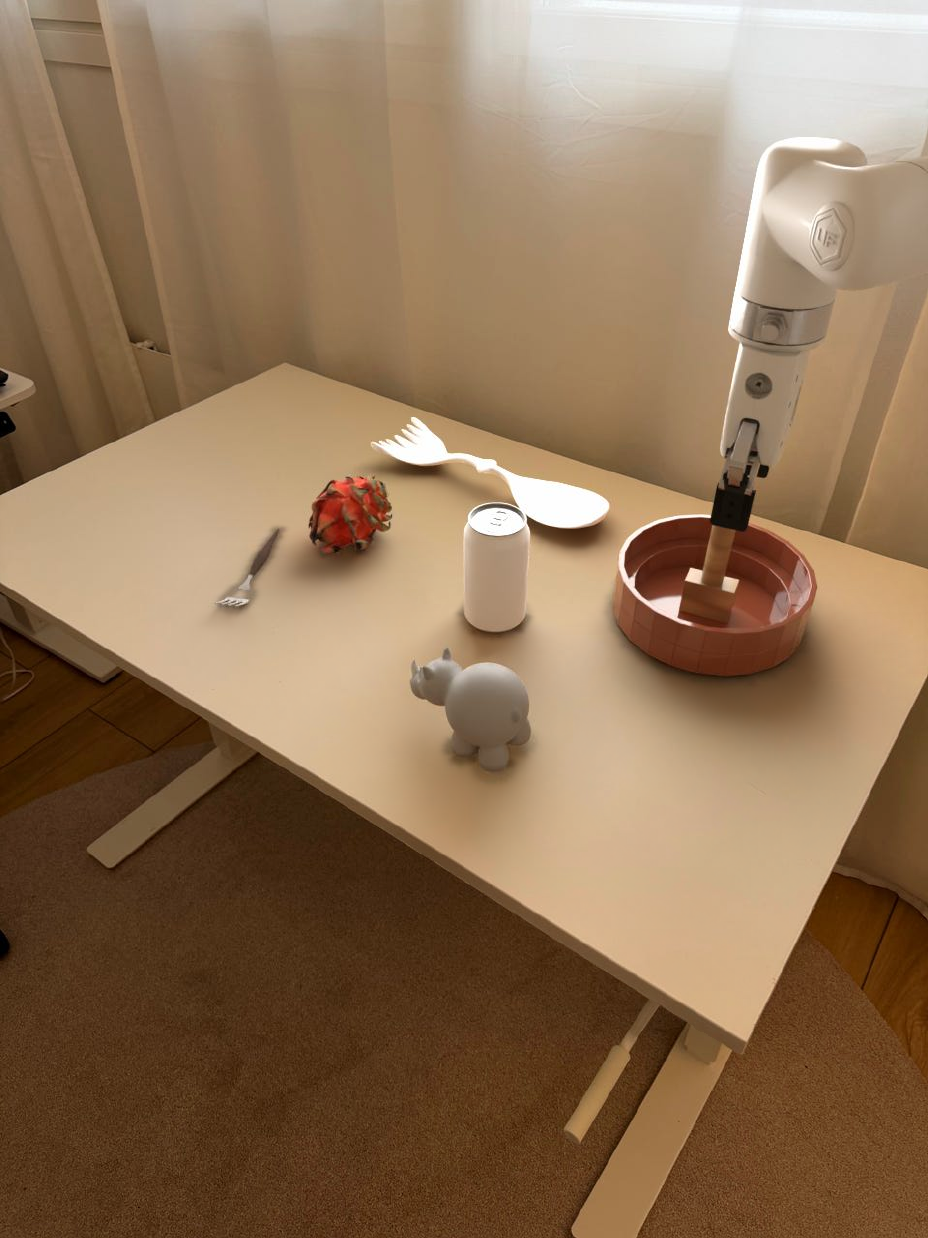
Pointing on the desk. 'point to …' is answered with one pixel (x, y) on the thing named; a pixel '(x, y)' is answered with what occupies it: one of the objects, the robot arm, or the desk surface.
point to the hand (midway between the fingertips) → (739, 499)
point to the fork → (252, 571)
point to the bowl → (746, 644)
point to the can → (495, 567)
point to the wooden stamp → (711, 581)
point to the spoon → (531, 495)
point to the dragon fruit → (349, 513)
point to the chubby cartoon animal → (477, 706)
